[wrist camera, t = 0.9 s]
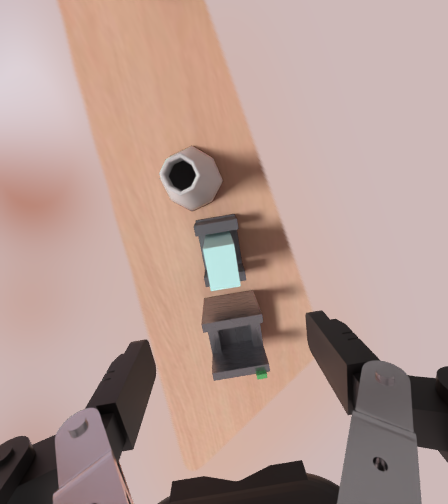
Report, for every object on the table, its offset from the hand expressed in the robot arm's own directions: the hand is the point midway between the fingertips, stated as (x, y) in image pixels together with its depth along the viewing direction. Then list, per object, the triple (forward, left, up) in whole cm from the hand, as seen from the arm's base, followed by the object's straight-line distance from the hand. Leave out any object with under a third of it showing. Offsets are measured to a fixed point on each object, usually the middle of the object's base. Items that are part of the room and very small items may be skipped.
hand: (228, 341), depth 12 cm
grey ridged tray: (0, 0, -20) cm, 20 cm away
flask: (-9, -2, -20) cm, 22 cm away
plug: (0, 0, -19) cm, 19 cm away
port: (+11, 0, -20) cm, 23 cm away
